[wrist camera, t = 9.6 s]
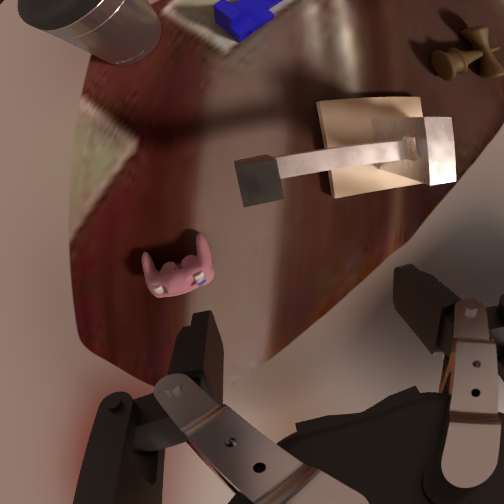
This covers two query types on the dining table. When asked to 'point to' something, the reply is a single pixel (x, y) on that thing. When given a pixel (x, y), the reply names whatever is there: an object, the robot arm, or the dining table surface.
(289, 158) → the shaft
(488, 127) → the dining table surface
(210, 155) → the dining table surface
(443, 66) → the kendama
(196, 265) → the video game controller
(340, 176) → the stand
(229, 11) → the cable clip
